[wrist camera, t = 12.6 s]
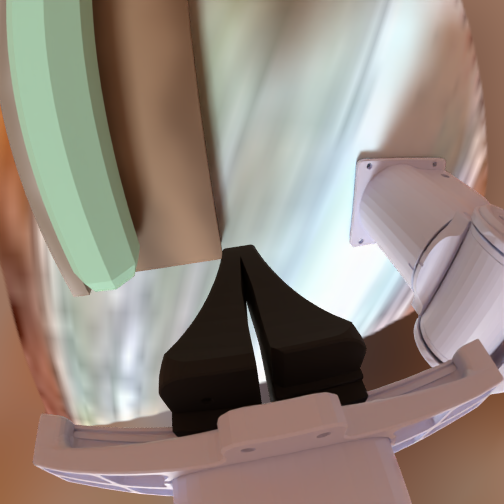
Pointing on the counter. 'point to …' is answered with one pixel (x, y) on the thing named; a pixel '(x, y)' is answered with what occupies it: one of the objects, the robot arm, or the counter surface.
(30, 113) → the container
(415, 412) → the robot arm
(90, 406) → the counter surface
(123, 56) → the shelf
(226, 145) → the counter surface
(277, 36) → the counter surface
